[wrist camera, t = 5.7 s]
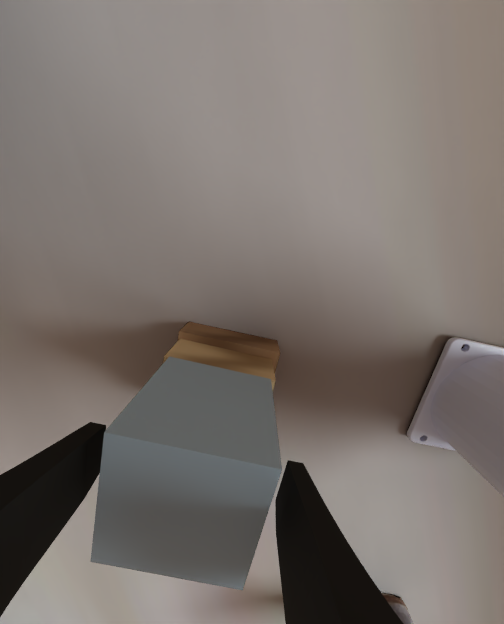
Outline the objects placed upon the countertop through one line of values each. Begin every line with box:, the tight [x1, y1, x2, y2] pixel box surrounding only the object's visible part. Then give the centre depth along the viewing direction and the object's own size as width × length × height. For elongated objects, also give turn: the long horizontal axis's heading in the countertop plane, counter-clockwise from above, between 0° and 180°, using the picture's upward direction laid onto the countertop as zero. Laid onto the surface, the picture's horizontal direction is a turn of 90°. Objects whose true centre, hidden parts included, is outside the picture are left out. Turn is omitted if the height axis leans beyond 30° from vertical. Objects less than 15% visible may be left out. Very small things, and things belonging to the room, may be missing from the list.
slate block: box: [91, 356, 282, 590], centre depth 10 cm, size 5×5×5 cm
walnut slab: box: [177, 322, 280, 374], centre depth 16 cm, size 6×6×2 cm
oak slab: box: [163, 339, 276, 392], centre depth 13 cm, size 6×6×2 cm
